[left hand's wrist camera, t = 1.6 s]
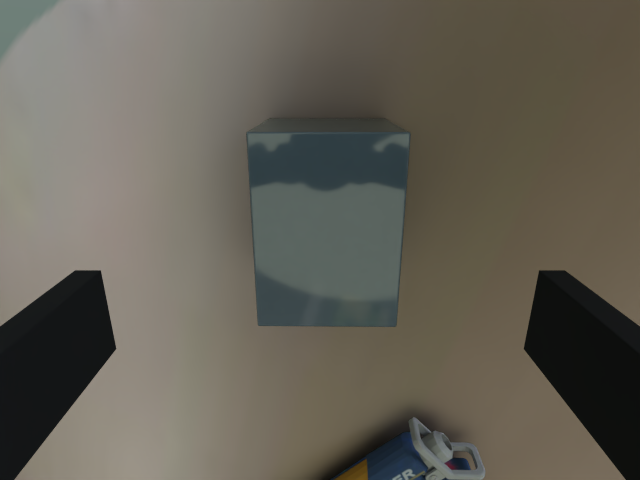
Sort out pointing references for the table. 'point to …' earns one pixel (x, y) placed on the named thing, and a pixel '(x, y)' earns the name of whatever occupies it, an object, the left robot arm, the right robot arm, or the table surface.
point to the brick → (327, 220)
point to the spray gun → (416, 459)
